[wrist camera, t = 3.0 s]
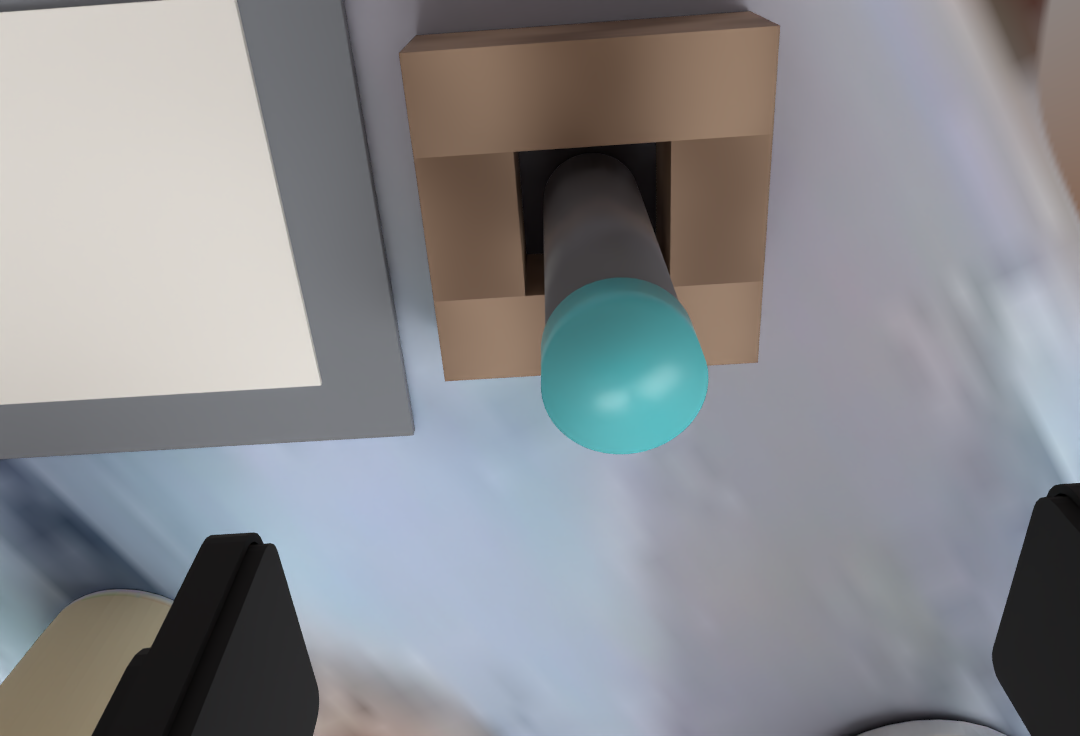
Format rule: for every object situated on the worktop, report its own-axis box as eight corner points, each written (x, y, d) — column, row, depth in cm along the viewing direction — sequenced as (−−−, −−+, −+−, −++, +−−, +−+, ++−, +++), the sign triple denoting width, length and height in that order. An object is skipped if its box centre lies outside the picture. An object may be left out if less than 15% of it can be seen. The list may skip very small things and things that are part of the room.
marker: (637, 134, 27) (711, 303, 15) (638, 230, 28) (705, 449, 17) (536, 141, 27) (535, 314, 15) (542, 236, 28) (546, 458, 17)
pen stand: (750, 11, 25) (780, 25, 22) (735, 315, 30) (757, 362, 27) (416, 35, 25) (399, 53, 22) (454, 332, 30) (445, 381, 27)
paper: (235, -6, 24) (233, -5, 24) (322, 382, 30) (320, 385, 30) (-364, 39, 25) (-371, 40, 25) (-158, 411, 31) (-162, 414, 31)
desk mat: (324, -113, 23) (321, -113, 23) (414, 429, 32) (413, 435, 32) (-502, -48, 24) (-518, -47, 24) (-195, 464, 33) (-203, 470, 32)
